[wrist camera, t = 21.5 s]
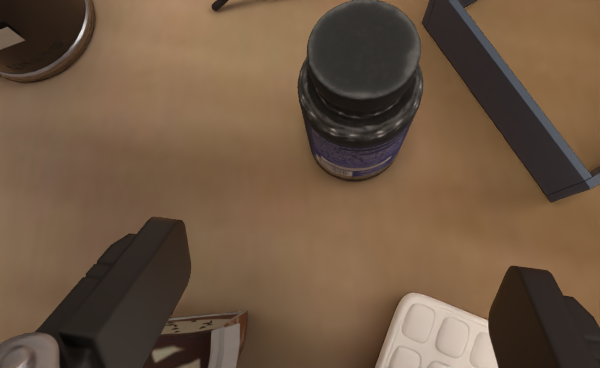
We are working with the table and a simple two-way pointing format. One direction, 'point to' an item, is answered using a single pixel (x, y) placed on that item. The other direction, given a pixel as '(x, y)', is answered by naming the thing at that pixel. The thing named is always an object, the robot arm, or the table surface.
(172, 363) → the food container
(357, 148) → the pill bottle
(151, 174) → the table surface
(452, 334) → the calculator
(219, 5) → the glasses
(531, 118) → the fence
